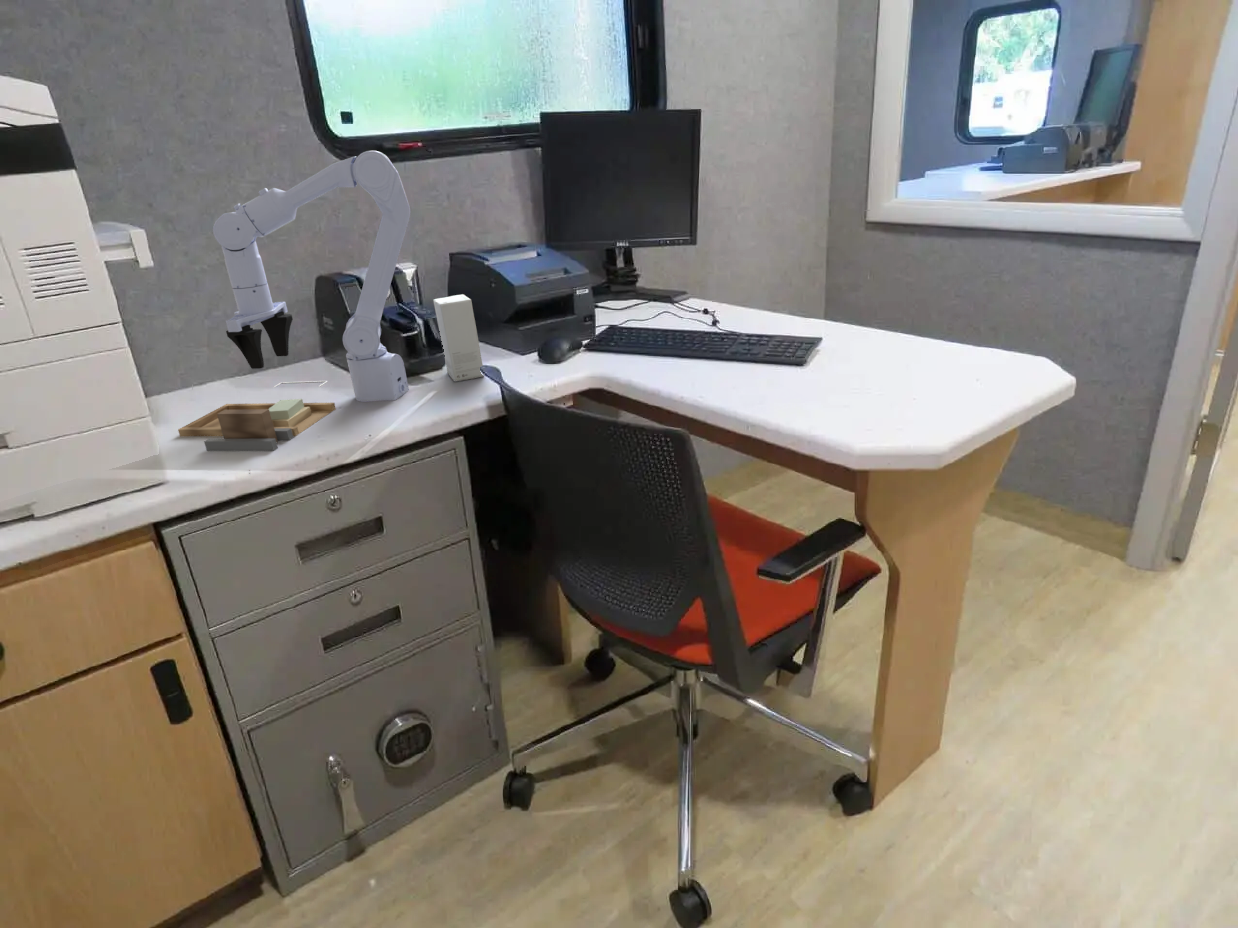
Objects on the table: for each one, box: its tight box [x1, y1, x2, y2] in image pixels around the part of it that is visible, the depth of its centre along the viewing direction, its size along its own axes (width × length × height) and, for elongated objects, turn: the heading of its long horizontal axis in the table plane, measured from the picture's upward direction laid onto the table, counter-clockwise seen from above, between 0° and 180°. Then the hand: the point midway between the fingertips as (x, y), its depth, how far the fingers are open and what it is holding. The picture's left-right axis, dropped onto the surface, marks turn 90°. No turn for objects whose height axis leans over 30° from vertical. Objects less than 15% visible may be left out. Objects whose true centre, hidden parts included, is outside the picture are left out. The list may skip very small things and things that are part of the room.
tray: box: [177, 402, 337, 437], centre depth 134 cm, size 22×13×2 cm, turn 80°
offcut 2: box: [272, 407, 312, 427], centre depth 132 cm, size 5×7×2 cm
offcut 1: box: [269, 398, 304, 420], centre depth 132 cm, size 4×6×2 cm, turn 178°
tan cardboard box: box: [217, 409, 279, 444], centre depth 123 cm, size 8×2×6 cm, turn 80°
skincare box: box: [432, 293, 484, 382], centre depth 152 cm, size 8×7×16 cm
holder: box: [203, 428, 294, 452], centre depth 124 cm, size 12×6×3 cm, turn 80°
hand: (270, 361), depth 136 cm, fingers open, 7 cm apart
